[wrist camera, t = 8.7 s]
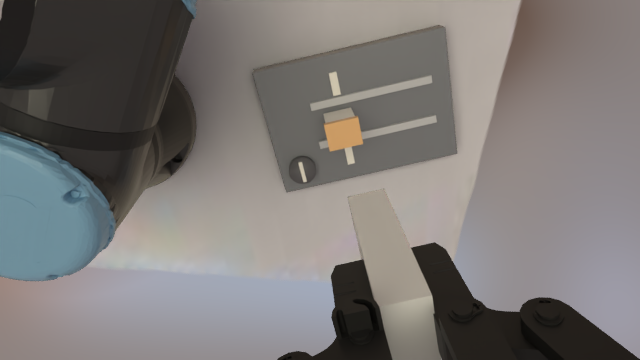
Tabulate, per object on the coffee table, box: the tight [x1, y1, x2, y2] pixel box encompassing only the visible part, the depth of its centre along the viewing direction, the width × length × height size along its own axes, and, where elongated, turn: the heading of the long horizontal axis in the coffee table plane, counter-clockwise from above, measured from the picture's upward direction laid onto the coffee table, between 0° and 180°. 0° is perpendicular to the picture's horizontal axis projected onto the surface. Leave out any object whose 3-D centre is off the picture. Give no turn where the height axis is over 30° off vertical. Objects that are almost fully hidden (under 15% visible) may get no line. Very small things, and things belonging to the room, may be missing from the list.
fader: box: [323, 107, 363, 151], centre depth 45 cm, size 3×3×5 cm
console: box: [253, 25, 457, 192], centre depth 48 cm, size 20×14×3 cm
